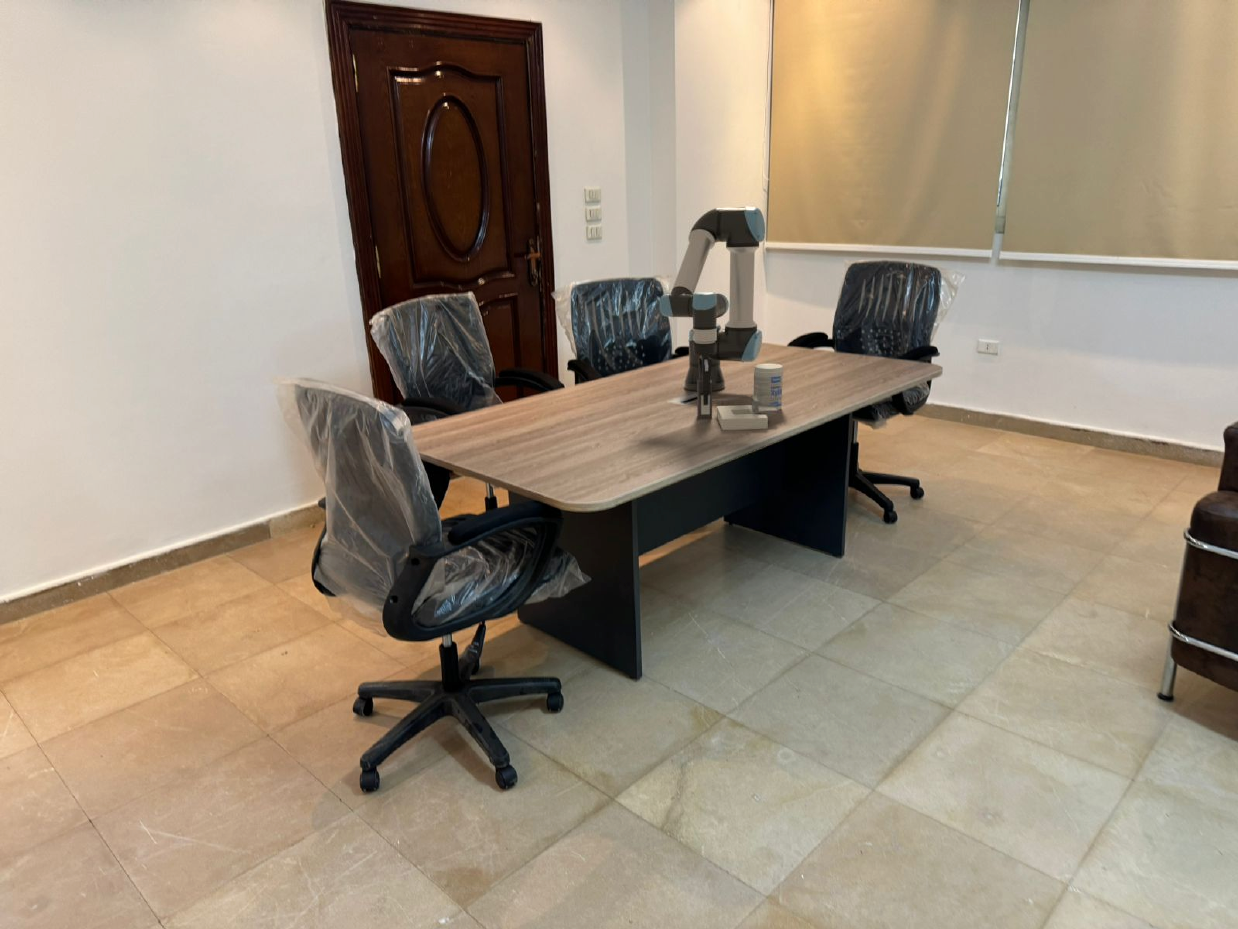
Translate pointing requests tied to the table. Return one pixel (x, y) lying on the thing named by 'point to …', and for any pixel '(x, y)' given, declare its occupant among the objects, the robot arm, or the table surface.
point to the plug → (699, 390)
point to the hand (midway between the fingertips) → (704, 411)
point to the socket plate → (741, 418)
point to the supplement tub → (768, 384)
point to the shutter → (762, 407)
